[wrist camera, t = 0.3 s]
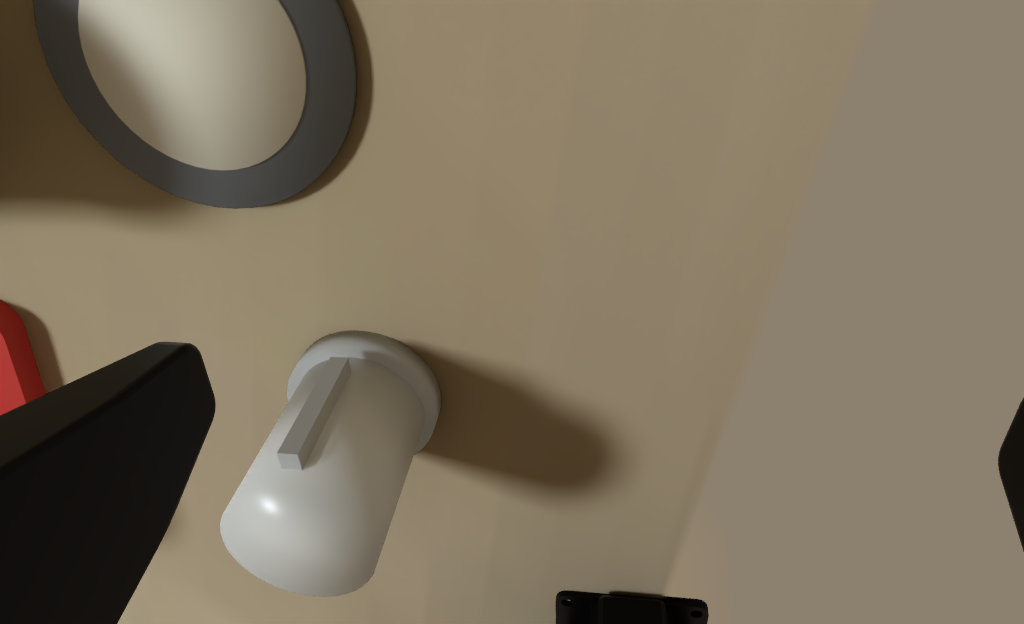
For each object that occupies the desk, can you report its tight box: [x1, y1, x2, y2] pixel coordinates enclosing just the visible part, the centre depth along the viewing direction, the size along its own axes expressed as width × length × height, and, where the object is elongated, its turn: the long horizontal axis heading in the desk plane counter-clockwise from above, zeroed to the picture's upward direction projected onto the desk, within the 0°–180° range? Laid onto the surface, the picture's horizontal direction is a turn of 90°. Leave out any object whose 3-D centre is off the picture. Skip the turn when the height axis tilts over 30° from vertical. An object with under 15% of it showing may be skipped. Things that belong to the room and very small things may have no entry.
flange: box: [33, 0, 357, 209], centre depth 20 cm, size 9×9×1 cm
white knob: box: [220, 331, 441, 597], centre depth 24 cm, size 6×5×7 cm
